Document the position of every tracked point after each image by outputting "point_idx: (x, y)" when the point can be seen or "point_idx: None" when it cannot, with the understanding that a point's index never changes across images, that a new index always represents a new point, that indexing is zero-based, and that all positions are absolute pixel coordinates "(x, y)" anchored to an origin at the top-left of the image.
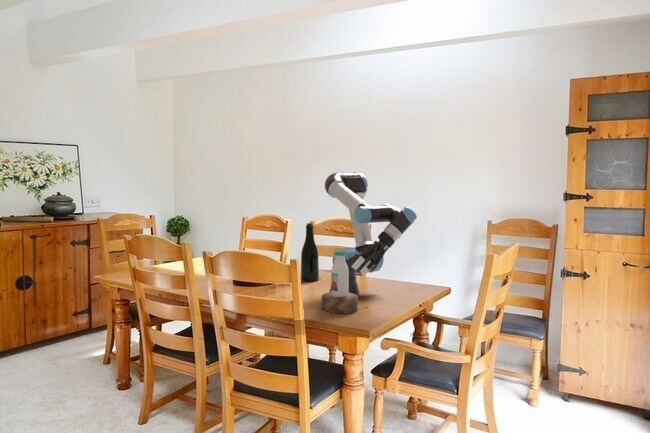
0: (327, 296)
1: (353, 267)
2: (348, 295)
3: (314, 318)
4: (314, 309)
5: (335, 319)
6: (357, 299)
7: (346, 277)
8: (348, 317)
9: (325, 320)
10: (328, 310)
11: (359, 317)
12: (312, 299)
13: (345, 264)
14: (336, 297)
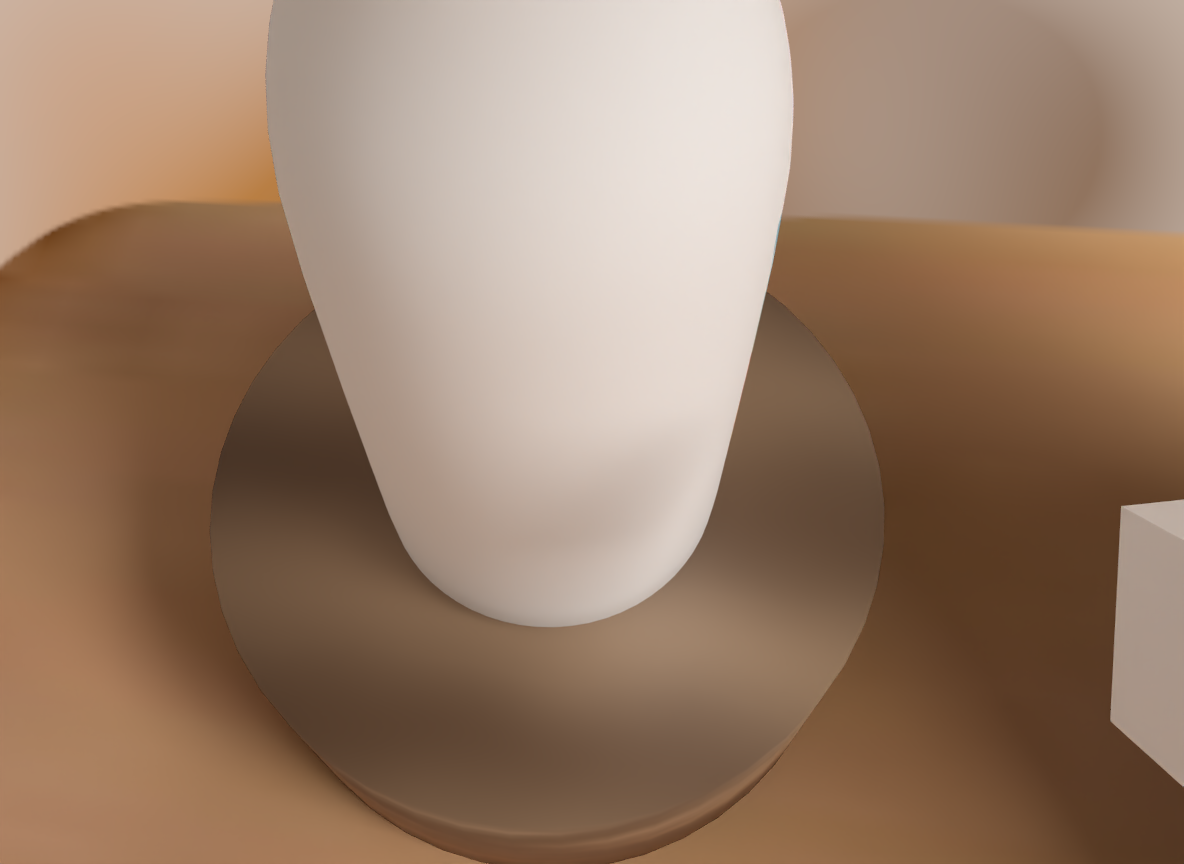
0: None
1: (1127, 587)
2: (572, 641)
3: (166, 240)
4: None
5: (35, 458)
6: (447, 825)
7: (353, 370)
8: (70, 641)
9: (36, 342)
10: None
11: (9, 814)
12: (1132, 280)
13: (347, 69)
14: None
